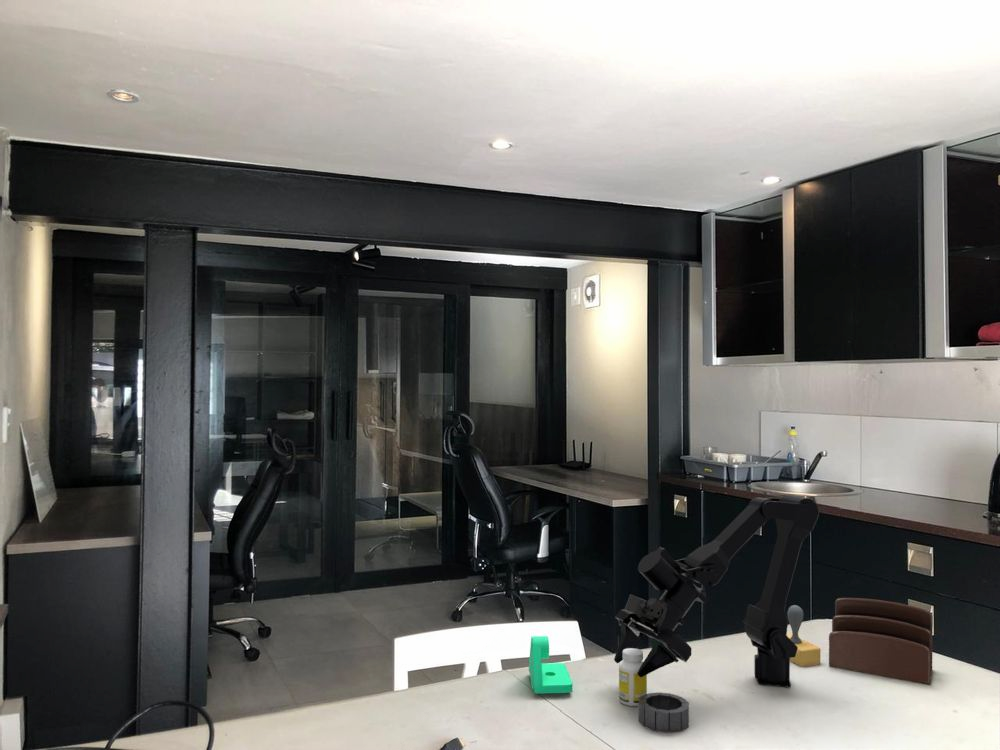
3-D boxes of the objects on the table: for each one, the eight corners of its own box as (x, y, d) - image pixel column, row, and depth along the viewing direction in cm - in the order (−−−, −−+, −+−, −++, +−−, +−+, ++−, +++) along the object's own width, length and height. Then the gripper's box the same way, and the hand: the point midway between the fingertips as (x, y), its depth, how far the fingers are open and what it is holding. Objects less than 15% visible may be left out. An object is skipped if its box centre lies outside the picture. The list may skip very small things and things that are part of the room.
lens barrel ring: (689, 714, 147) (689, 695, 147) (688, 735, 139) (688, 715, 139) (641, 708, 150) (641, 690, 150) (636, 728, 141) (637, 709, 141)
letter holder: (835, 653, 181) (835, 592, 181) (932, 670, 170) (932, 606, 171) (828, 667, 172) (828, 603, 172) (930, 686, 162) (930, 618, 162)
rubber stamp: (770, 652, 181) (770, 600, 181) (790, 649, 183) (791, 598, 183) (800, 667, 172) (800, 612, 172) (821, 664, 174) (821, 610, 174)
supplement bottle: (648, 698, 155) (648, 648, 155) (644, 708, 150) (644, 657, 150) (621, 694, 157) (621, 645, 157) (616, 704, 151) (616, 654, 151)
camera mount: (573, 698, 155) (573, 646, 155) (535, 698, 154) (535, 647, 155) (564, 675, 167) (564, 627, 167) (528, 675, 166) (529, 627, 166)
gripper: (623, 569, 163) (577, 629, 159) (679, 592, 146) (630, 659, 142) (654, 602, 167) (610, 662, 162) (712, 628, 150) (665, 695, 145)
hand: (627, 668), depth 152 cm, fingers open, 8 cm apart
